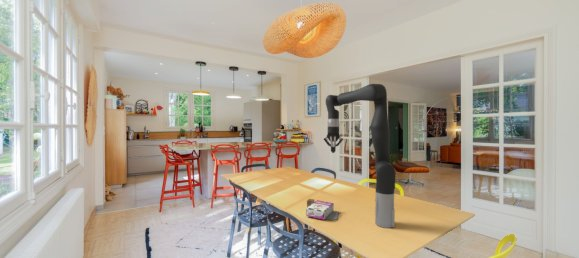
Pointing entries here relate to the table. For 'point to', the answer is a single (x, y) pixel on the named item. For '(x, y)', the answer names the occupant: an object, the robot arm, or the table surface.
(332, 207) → the candy bar box
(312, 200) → the walnut block
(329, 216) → the rubber mat
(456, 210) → the table surface
